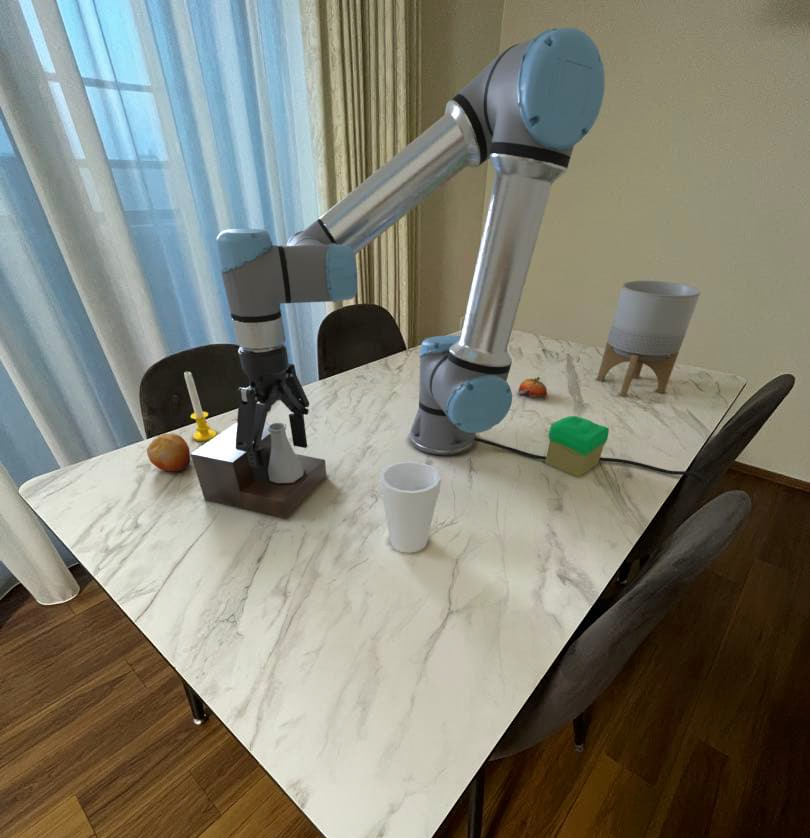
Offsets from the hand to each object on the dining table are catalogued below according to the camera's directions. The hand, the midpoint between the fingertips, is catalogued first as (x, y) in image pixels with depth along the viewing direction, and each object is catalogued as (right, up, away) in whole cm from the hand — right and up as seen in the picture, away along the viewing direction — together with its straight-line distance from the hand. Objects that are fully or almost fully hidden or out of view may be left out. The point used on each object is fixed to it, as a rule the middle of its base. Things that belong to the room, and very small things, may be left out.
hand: (282, 462), depth 88 cm
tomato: (+59, +26, +44) cm, 78 cm away
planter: (+89, +31, +50) cm, 107 cm away
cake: (+59, +2, +15) cm, 61 cm away
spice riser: (-4, -4, +5) cm, 8 cm away
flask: (0, -2, +2) cm, 3 cm away
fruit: (-26, +1, +11) cm, 28 cm away
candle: (-24, +10, +22) cm, 34 cm away
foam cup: (+24, -15, -7) cm, 29 cm away
